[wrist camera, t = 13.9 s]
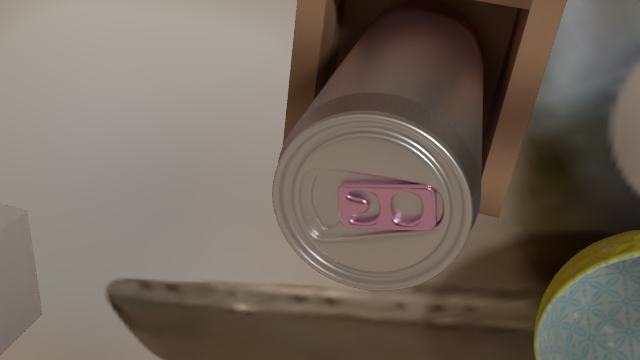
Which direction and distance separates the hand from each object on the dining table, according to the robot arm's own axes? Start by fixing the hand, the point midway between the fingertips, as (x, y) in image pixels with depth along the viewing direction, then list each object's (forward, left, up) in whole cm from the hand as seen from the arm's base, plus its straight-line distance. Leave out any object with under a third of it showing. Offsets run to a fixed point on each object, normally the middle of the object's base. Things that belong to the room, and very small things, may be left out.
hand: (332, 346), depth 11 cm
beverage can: (0, 0, -21) cm, 21 cm away
